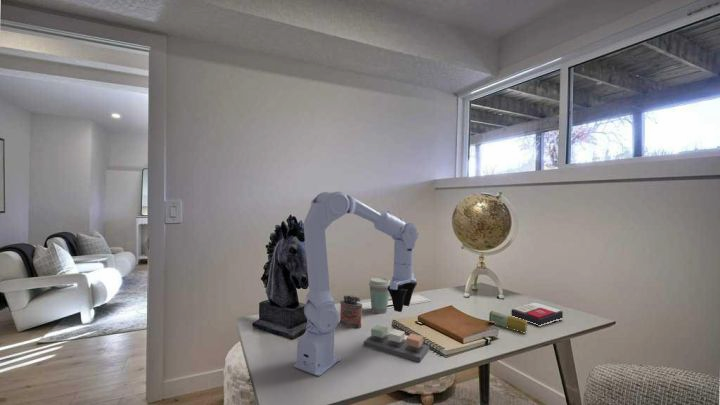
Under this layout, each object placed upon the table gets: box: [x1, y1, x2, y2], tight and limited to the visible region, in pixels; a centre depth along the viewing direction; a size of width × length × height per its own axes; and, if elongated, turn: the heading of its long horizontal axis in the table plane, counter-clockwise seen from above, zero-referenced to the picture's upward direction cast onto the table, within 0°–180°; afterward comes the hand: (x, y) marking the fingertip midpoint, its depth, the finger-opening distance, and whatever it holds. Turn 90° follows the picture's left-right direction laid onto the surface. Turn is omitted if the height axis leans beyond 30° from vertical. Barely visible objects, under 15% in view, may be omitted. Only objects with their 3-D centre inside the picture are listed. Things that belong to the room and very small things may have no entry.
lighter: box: [339, 294, 363, 329], centre depth 104 cm, size 8×3×10 cm, turn 62°
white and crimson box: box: [510, 302, 564, 325], centre depth 116 cm, size 11×4×15 cm
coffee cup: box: [368, 277, 391, 314], centre depth 118 cm, size 8×8×12 cm
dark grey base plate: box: [363, 333, 430, 363], centre depth 88 cm, size 8×17×1 cm, turn 60°
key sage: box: [370, 324, 389, 338], centre depth 91 cm, size 4×4×2 cm
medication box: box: [488, 310, 528, 332], centre depth 106 cm, size 12×3×4 cm, turn 45°
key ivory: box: [387, 328, 406, 343], centre depth 88 cm, size 4×4×2 cm
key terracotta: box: [406, 332, 424, 348], centre depth 86 cm, size 4×4×2 cm
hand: (401, 308), depth 91 cm, fingers open, 5 cm apart
